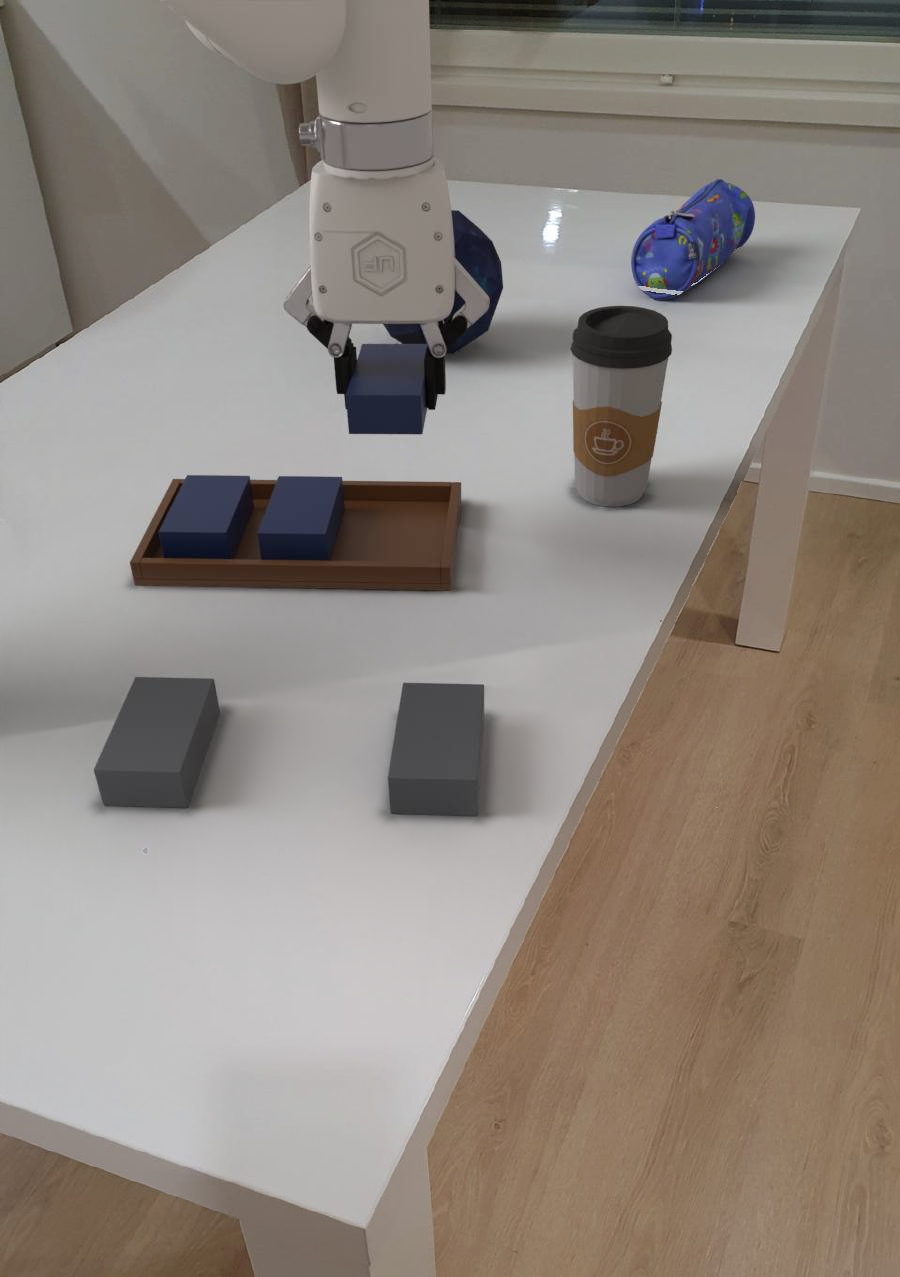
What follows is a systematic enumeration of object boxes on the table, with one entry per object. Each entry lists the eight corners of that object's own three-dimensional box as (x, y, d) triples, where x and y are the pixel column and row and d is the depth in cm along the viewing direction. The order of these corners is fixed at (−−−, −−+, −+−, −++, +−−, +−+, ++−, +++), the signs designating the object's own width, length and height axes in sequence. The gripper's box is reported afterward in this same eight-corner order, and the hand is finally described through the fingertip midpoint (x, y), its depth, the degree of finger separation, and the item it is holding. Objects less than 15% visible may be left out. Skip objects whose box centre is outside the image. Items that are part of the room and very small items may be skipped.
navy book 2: (261, 566, 98) (257, 533, 96) (282, 507, 105) (278, 475, 103) (328, 567, 97) (325, 534, 96) (344, 508, 105) (342, 476, 103)
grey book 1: (103, 805, 77) (93, 769, 75) (143, 711, 84) (134, 676, 82) (188, 808, 76) (180, 772, 74) (220, 713, 84) (214, 678, 82)
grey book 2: (390, 814, 76) (387, 777, 74) (404, 717, 83) (402, 682, 81) (477, 816, 75) (477, 779, 73) (484, 719, 83) (484, 683, 81)
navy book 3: (348, 434, 90) (345, 395, 88) (364, 380, 97) (362, 343, 95) (422, 434, 89) (420, 395, 87) (432, 381, 97) (431, 343, 95)
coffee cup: (553, 506, 106) (560, 334, 96) (576, 465, 112) (585, 299, 102) (647, 519, 104) (664, 344, 94) (665, 476, 110) (683, 308, 100)
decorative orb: (505, 267, 138) (425, 159, 129) (547, 311, 127) (463, 197, 118) (412, 354, 142) (328, 255, 132) (445, 403, 131) (355, 300, 121)
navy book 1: (165, 564, 98) (158, 531, 96) (192, 506, 106) (186, 474, 104) (231, 565, 98) (226, 532, 96) (254, 507, 105) (249, 475, 103)
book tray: (134, 585, 97) (129, 562, 96) (176, 500, 108) (172, 478, 107) (451, 590, 96) (450, 567, 94) (461, 503, 106) (461, 481, 105)
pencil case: (689, 309, 142) (699, 223, 135) (622, 298, 145) (628, 213, 139) (752, 256, 156) (764, 175, 150) (690, 247, 159) (698, 167, 153)
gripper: (240, 157, 79) (273, 422, 91) (503, 155, 78) (501, 424, 90) (261, 129, 84) (290, 383, 96) (506, 127, 83) (505, 383, 95)
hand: (392, 400), depth 93 cm, fingers closed on navy book 3, 5 cm apart
